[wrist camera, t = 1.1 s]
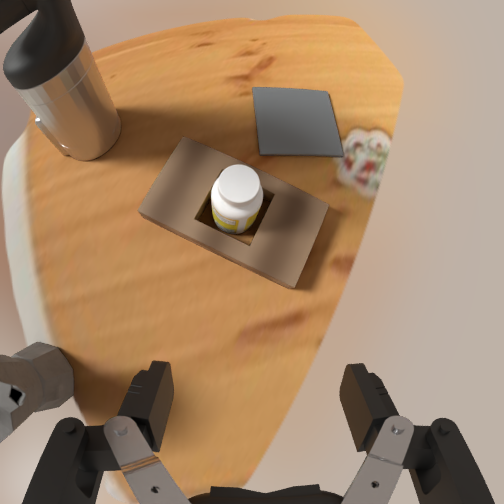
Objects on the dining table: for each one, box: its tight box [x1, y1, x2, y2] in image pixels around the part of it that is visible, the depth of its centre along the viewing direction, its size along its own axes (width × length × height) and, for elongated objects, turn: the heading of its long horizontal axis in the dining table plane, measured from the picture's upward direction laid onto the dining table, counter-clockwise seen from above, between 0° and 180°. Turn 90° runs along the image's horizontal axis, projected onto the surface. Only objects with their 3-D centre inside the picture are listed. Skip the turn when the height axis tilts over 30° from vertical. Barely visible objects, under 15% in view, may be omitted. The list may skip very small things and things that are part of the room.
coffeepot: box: [0, 342, 74, 443], centre depth 22 cm, size 15×9×18 cm, turn 107°
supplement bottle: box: [211, 164, 263, 234], centre depth 33 cm, size 5×5×10 cm
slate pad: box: [252, 87, 343, 157], centre depth 41 cm, size 12×12×1 cm
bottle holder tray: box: [138, 136, 329, 289], centre depth 36 cm, size 20×11×3 cm, turn 65°
